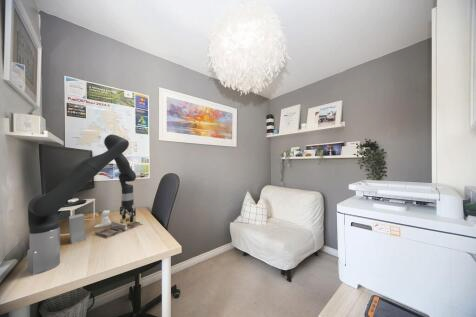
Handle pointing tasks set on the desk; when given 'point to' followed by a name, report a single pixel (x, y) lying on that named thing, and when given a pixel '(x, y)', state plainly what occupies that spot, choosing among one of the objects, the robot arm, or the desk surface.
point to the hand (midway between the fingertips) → (127, 221)
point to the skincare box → (77, 228)
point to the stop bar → (128, 221)
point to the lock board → (115, 230)
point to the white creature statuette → (104, 219)
